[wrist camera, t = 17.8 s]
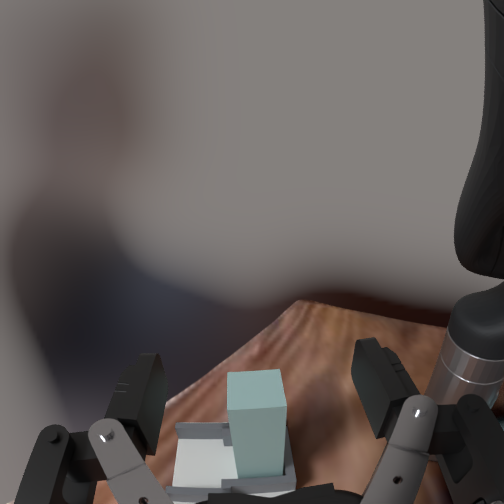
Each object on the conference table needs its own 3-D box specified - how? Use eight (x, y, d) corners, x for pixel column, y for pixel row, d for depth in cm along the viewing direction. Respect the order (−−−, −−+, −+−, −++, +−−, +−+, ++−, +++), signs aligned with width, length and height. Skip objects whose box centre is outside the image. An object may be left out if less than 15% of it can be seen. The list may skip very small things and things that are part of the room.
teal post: (277, 447, 34) (279, 369, 29) (282, 479, 29) (286, 405, 24) (237, 450, 33) (227, 372, 29) (238, 482, 29) (227, 409, 24)
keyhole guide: (283, 421, 38) (283, 408, 37) (298, 514, 24) (300, 505, 23) (181, 425, 38) (177, 411, 37) (170, 516, 24) (163, 507, 23)
